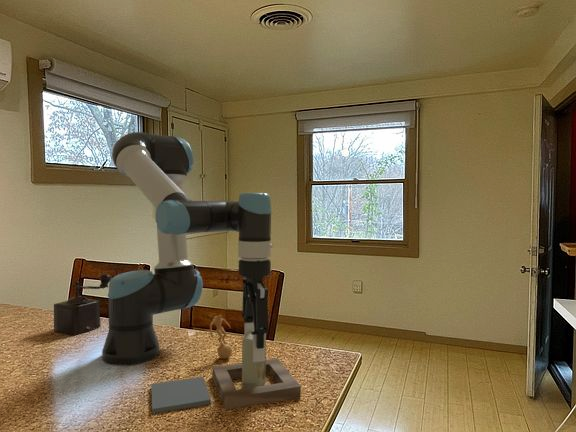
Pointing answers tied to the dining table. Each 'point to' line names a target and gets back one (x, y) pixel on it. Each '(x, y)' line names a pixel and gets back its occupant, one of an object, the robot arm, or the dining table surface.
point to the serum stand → (254, 395)
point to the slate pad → (179, 394)
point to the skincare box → (252, 365)
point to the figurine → (224, 349)
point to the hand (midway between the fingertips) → (254, 354)
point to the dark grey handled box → (79, 311)
